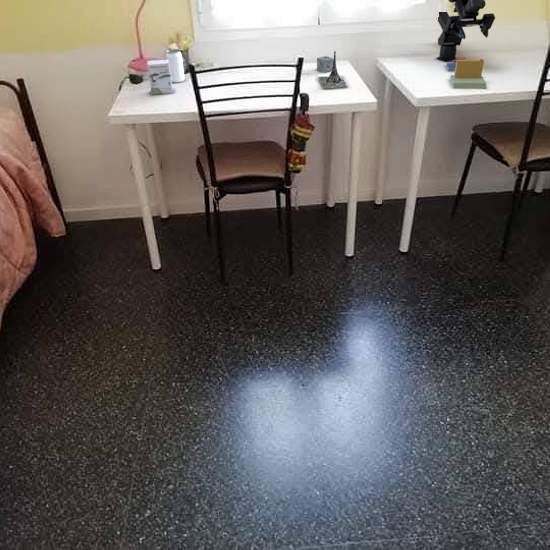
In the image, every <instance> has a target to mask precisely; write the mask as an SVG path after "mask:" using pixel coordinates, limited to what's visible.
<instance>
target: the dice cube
mask: <svg viewBox="0 0 550 550" xmlns="http://www.w3.org/2000/svg"><path fill="white" fill-rule="evenodd" d="M333 61H334V57H332V56H327V55H324V56H319V57H316V71H319V72H322V73H327V72H331V71H332V68H333Z"/></svg>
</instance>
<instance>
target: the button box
mask: <svg viewBox="0 0 550 550" xmlns="http://www.w3.org/2000/svg"><path fill="white" fill-rule="evenodd" d="M445 66H446V69H447V71H448V72H455V68H456V60H452V61H451V62H446V64H445Z"/></svg>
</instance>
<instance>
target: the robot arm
mask: <svg viewBox="0 0 550 550" xmlns="http://www.w3.org/2000/svg"><path fill="white" fill-rule="evenodd" d="M447 1H448V2H450V3H451V4H452V3H454V9H453V13H457V15H450V14H449V13H448V11H447V12H439V17H438V20H437V22H438V24H439V26H440V29H441V34H440V35H439V37H438V38H437V45H438V46H439V47H440V48H439V49H440V50H439V55H438V56H437V57H436V60H439V61H442V62H446V63H449V62H452V61H453V60H456V59H457V57H456V56H457V46H461V43H462V40H465V39H466V33H465V31H464V28H470V27H479V29H480V32H481V33H482V35H483V37H485V38H486V39H487V38H488V37H489V30H490V29H492V26H493V24H494V22H495V19H496V15H495V14H494V13H491V12H490V13H484V14H483V16H482V17H481V18H477V17H479V15H480V13H479V11H481V10H484V8H485V7H486V5H487V4H486V0H447Z"/></svg>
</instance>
